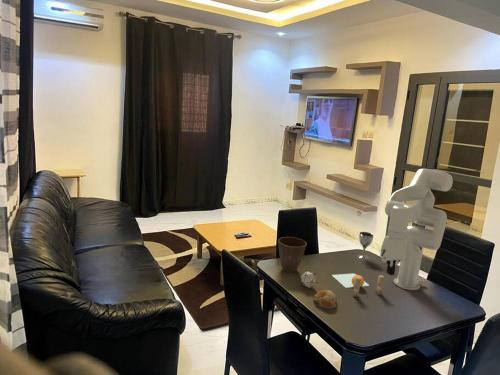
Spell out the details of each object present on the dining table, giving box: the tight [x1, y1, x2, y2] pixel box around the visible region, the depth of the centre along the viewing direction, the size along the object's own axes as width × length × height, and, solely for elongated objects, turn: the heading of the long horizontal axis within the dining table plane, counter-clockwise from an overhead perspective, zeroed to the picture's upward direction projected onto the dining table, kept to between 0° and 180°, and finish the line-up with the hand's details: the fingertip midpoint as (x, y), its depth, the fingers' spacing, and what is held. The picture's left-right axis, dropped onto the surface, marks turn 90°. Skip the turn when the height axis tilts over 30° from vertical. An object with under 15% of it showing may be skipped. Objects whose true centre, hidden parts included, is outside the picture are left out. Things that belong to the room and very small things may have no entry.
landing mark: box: [331, 273, 370, 289], centre depth 192 cm, size 14×14×1 cm
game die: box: [298, 269, 319, 290], centre depth 181 cm, size 9×8×10 cm
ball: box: [352, 274, 365, 288], centre depth 185 cm, size 6×6×6 cm
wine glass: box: [356, 231, 374, 261], centre depth 224 cm, size 8×8×15 cm
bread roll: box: [313, 289, 338, 309], centre depth 167 cm, size 10×10×8 cm
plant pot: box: [278, 236, 307, 273], centre depth 198 cm, size 15×15×16 cm
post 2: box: [375, 274, 385, 296], centre depth 179 cm, size 3×3×9 cm
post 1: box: [352, 277, 361, 298], centre depth 175 cm, size 3×3×9 cm
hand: (390, 273), depth 163 cm, fingers closed
